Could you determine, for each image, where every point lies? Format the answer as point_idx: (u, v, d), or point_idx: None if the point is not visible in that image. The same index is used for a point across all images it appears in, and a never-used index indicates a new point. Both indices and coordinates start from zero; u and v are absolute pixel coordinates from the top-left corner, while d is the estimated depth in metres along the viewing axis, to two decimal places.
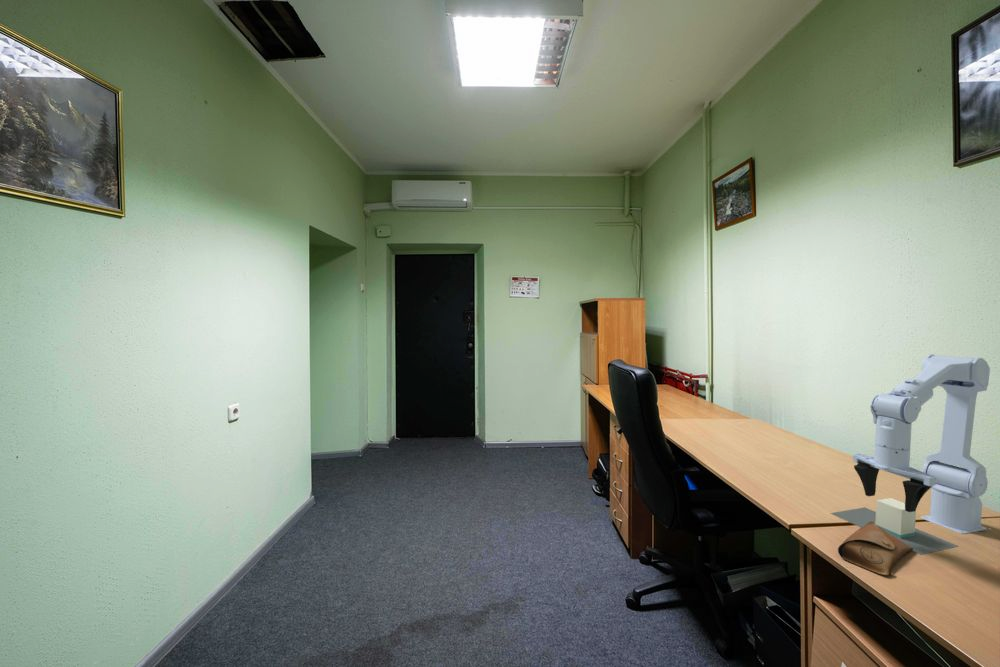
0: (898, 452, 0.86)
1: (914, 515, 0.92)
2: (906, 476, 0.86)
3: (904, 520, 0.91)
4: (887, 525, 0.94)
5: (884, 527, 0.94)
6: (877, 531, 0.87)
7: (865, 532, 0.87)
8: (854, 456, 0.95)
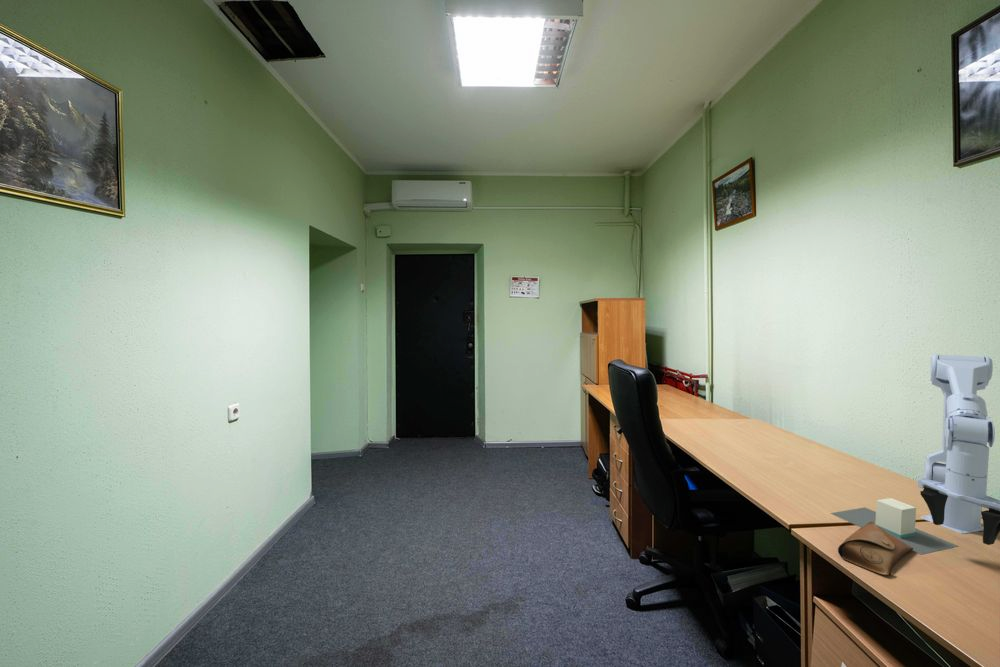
0: (975, 479, 0.80)
1: (914, 515, 0.92)
2: (983, 505, 0.80)
3: (904, 520, 0.91)
4: (887, 525, 0.94)
5: (884, 527, 0.94)
6: (877, 531, 0.87)
7: (865, 532, 0.87)
8: (919, 481, 0.89)
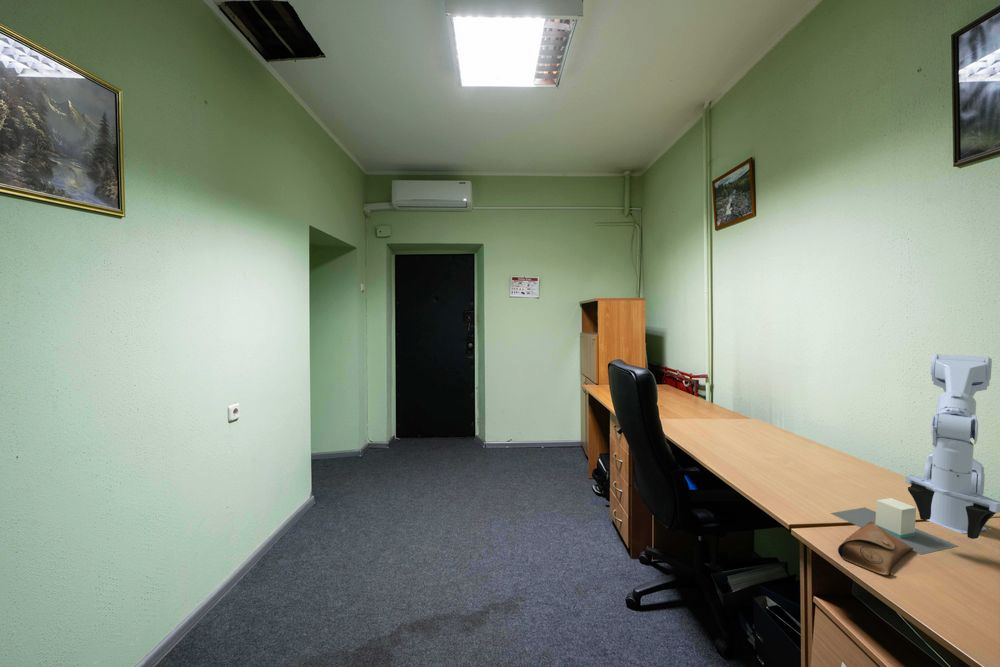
0: (960, 475, 0.82)
1: (914, 515, 0.92)
2: (968, 501, 0.82)
3: (904, 520, 0.91)
4: (887, 525, 0.94)
5: (884, 527, 0.94)
6: (877, 531, 0.87)
7: (865, 532, 0.87)
8: (907, 477, 0.91)
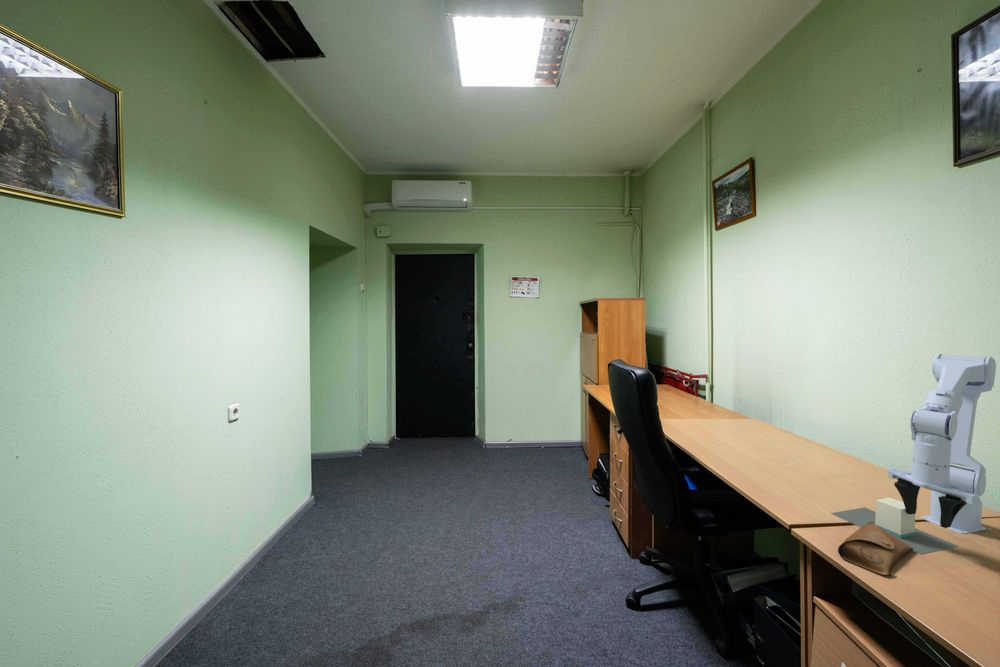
0: (938, 469, 0.85)
1: (913, 514, 0.92)
2: (946, 493, 0.85)
3: (904, 519, 0.91)
4: (887, 525, 0.94)
5: (884, 527, 0.94)
6: (877, 531, 0.87)
7: (865, 532, 0.87)
8: (889, 471, 0.94)
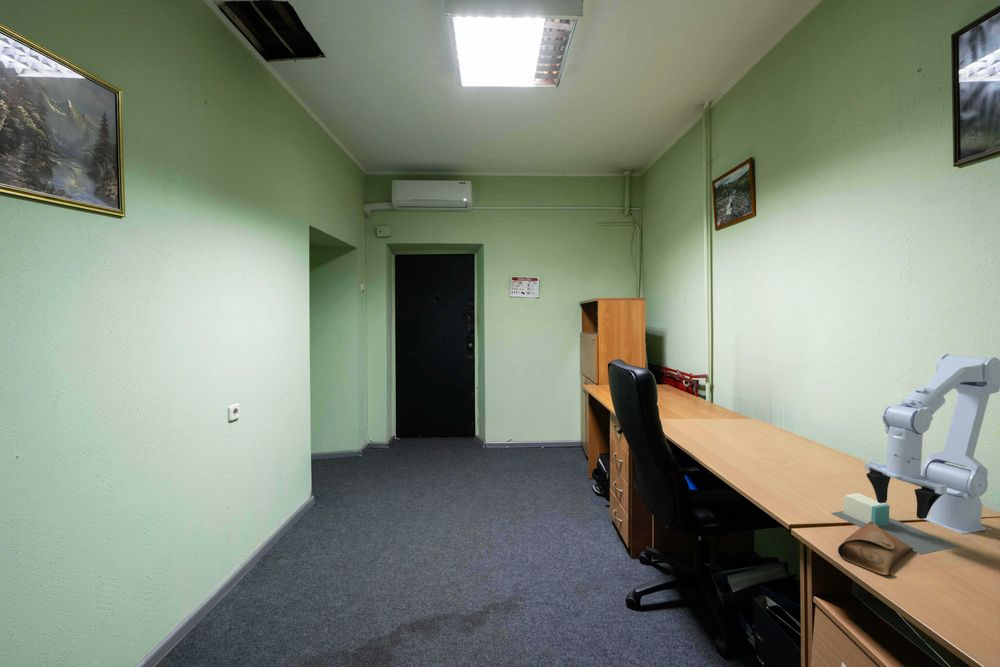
0: (910, 461, 0.90)
1: (864, 496, 1.02)
2: (917, 484, 0.90)
3: (859, 499, 1.00)
4: (866, 514, 0.98)
5: (870, 518, 0.97)
6: (877, 531, 0.87)
7: (865, 532, 0.87)
8: (866, 464, 0.99)
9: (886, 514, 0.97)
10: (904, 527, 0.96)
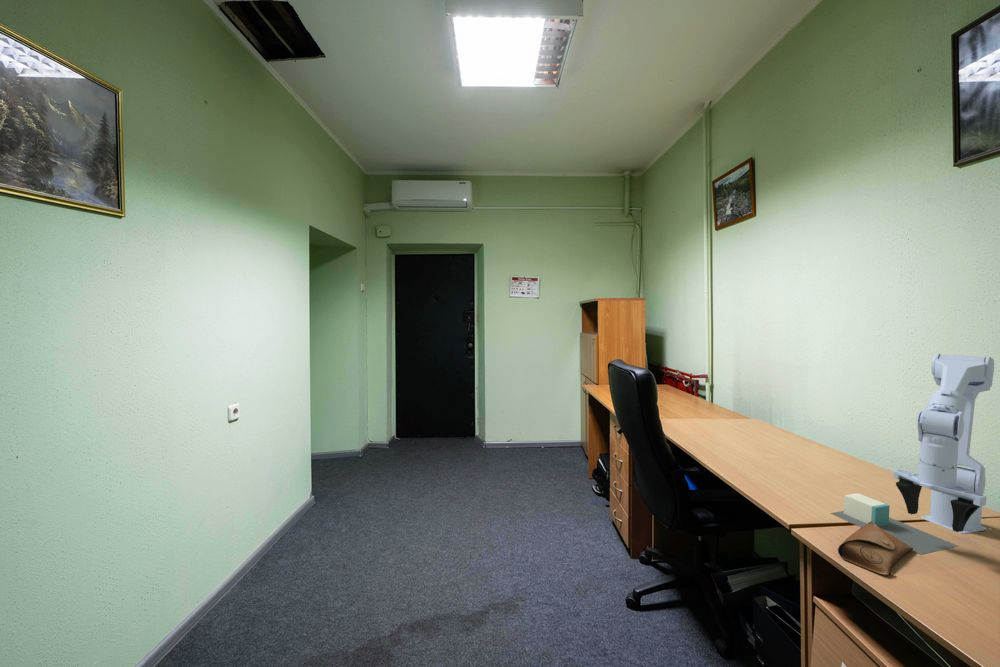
0: (945, 470, 0.84)
1: (864, 496, 1.02)
2: (953, 495, 0.84)
3: (859, 499, 1.00)
4: (866, 514, 0.98)
5: (870, 518, 0.97)
6: (877, 531, 0.87)
7: (865, 532, 0.87)
8: (895, 472, 0.93)
9: (886, 514, 0.97)
10: (904, 527, 0.96)
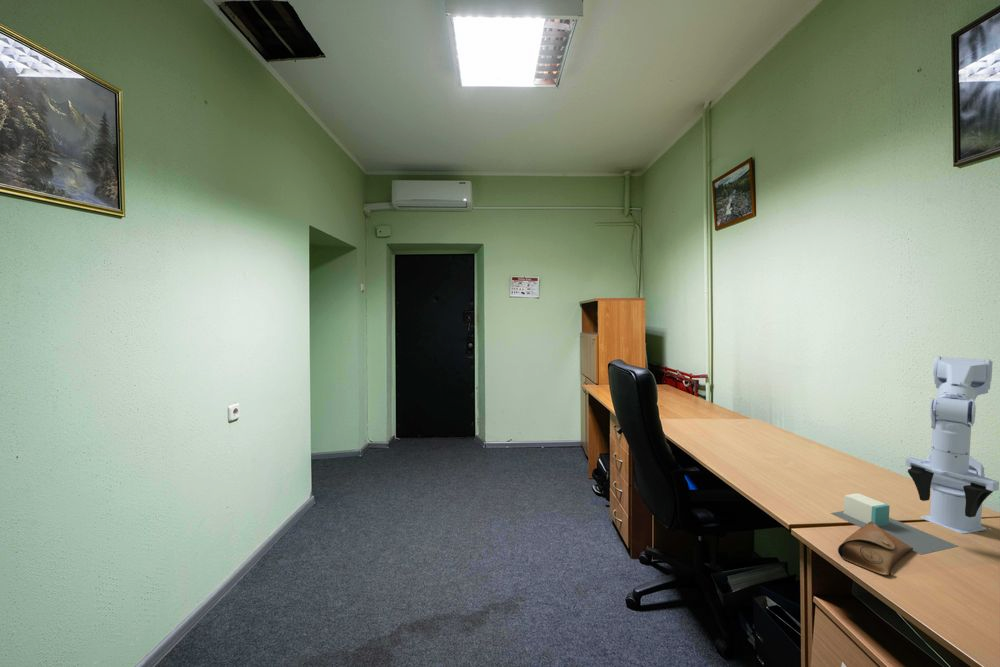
0: (958, 456, 0.85)
1: (864, 496, 1.02)
2: (966, 481, 0.85)
3: (859, 499, 1.00)
4: (866, 514, 0.98)
5: (870, 518, 0.97)
6: (877, 531, 0.87)
7: (865, 532, 0.87)
8: (907, 460, 0.94)
9: (886, 514, 0.97)
10: (904, 527, 0.96)
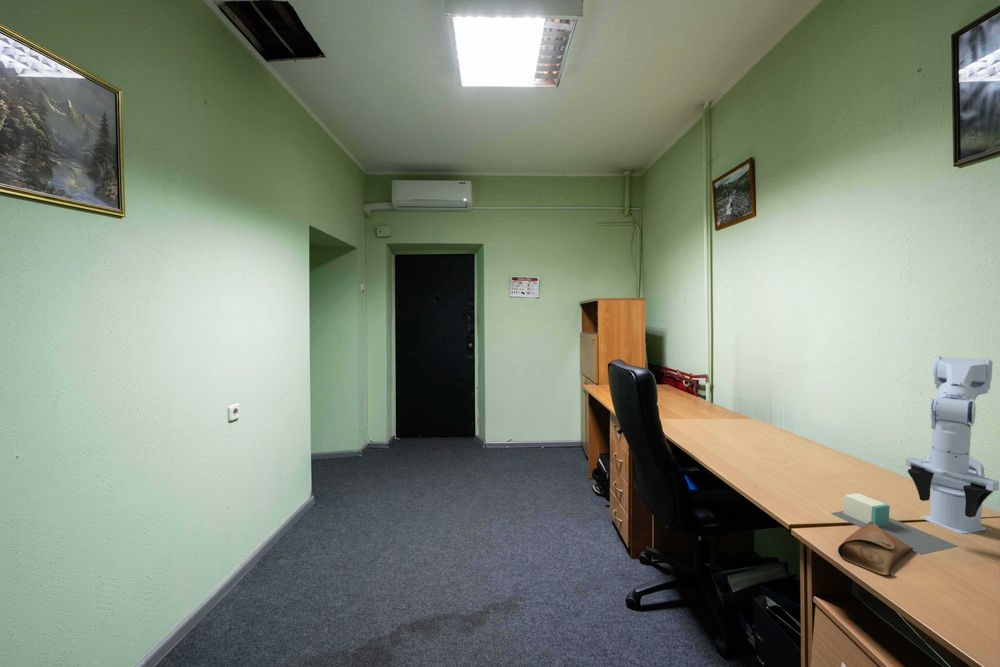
0: (958, 456, 0.85)
1: (864, 496, 1.02)
2: (966, 481, 0.85)
3: (859, 499, 1.00)
4: (866, 514, 0.98)
5: (870, 518, 0.97)
6: (877, 531, 0.87)
7: (865, 532, 0.87)
8: (907, 460, 0.94)
9: (886, 514, 0.97)
10: (904, 527, 0.96)
